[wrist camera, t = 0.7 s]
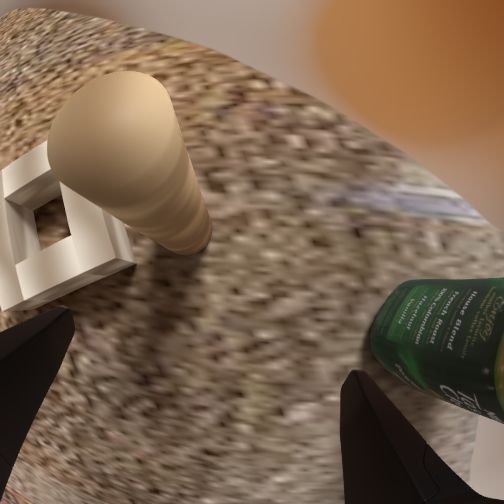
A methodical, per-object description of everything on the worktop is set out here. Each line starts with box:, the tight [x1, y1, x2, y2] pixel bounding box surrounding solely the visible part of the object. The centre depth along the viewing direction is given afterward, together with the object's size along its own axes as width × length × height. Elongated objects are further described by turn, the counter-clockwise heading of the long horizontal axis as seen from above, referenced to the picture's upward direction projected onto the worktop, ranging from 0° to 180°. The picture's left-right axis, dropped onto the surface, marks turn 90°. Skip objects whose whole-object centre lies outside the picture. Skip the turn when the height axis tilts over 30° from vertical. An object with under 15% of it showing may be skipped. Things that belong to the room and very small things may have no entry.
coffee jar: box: [370, 278, 504, 424], centre depth 14 cm, size 10×8×19 cm
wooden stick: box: [47, 71, 212, 256], centre depth 16 cm, size 4×4×16 cm
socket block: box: [0, 140, 137, 312], centre depth 21 cm, size 11×11×4 cm
